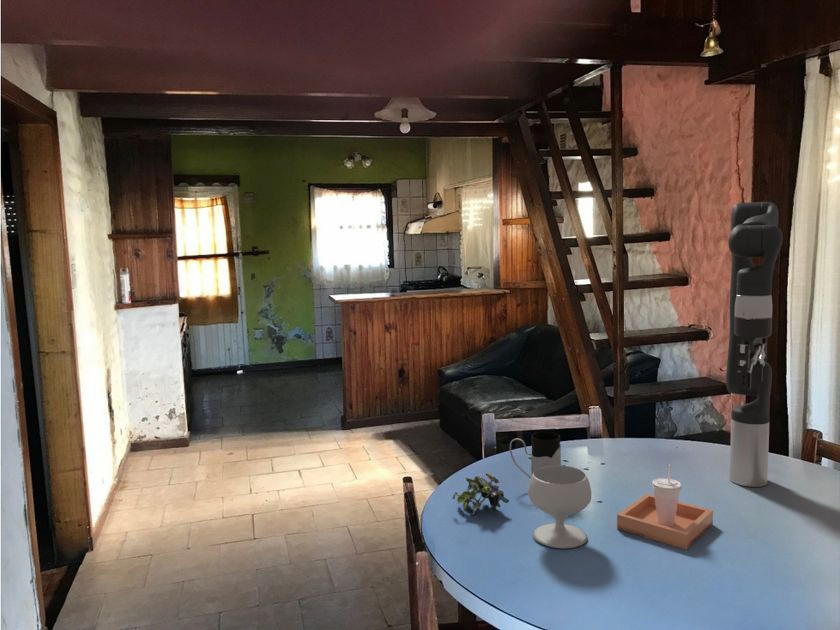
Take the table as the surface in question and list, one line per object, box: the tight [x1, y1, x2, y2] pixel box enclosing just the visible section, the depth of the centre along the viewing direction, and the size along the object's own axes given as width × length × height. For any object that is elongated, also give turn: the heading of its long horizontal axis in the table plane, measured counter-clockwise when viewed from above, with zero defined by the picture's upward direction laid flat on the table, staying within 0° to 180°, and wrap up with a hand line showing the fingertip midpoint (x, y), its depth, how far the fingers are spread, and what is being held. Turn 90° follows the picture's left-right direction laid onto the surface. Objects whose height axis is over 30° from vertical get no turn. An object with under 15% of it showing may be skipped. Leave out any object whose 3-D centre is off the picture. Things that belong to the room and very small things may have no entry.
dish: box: [616, 493, 714, 551], centre depth 151 cm, size 16×16×4 cm
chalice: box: [527, 464, 592, 549], centre depth 147 cm, size 14×14×15 cm
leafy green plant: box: [452, 472, 510, 517], centre depth 163 cm, size 11×11×12 cm
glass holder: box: [509, 431, 562, 480], centre depth 176 cm, size 9×14×15 cm, turn 71°
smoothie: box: [651, 464, 682, 526], centre depth 150 cm, size 6×6×14 cm
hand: (751, 385), depth 147 cm, fingers open, 8 cm apart
